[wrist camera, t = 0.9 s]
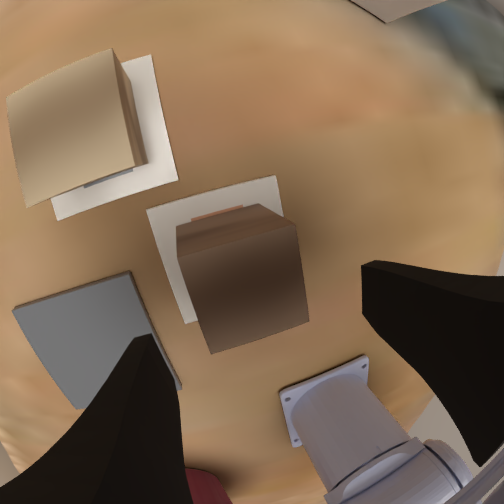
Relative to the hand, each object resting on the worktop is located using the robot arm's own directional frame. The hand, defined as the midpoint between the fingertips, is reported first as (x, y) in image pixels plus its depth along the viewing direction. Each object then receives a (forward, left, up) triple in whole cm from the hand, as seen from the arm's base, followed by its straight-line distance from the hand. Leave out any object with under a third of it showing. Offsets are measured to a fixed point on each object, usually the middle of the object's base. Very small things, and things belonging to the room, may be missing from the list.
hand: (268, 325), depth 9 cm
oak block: (+8, +5, -7) cm, 12 cm away
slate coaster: (-4, +10, -8) cm, 13 cm away
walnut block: (0, 0, -7) cm, 7 cm away
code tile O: (+8, +5, -8) cm, 12 cm away
